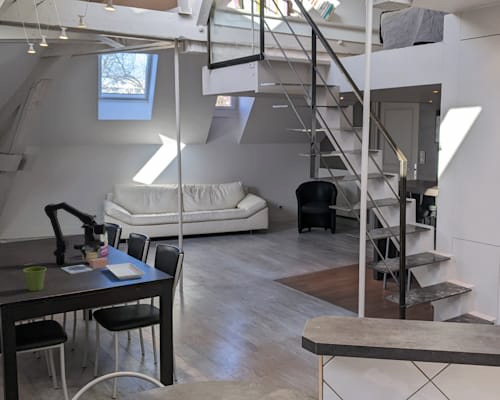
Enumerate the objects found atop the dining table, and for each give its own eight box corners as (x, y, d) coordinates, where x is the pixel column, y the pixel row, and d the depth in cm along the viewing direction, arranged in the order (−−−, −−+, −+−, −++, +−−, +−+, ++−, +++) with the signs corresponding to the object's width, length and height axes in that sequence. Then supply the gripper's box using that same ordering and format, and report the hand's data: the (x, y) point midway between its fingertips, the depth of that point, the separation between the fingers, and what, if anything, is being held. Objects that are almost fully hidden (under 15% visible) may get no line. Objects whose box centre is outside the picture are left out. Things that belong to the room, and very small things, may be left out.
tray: (131, 267, 348) (131, 262, 348) (146, 278, 321) (146, 273, 320) (104, 270, 341) (104, 265, 340) (117, 282, 313) (117, 276, 312)
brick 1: (82, 259, 360) (82, 251, 360) (91, 258, 364) (90, 250, 363) (88, 262, 352) (88, 254, 352) (97, 260, 356) (97, 253, 356)
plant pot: (44, 292, 293) (43, 271, 292) (21, 292, 292) (19, 272, 291) (50, 286, 305) (49, 266, 303) (28, 286, 304) (27, 266, 302)
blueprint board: (61, 269, 344) (61, 267, 344) (82, 265, 352) (82, 264, 352) (70, 273, 331) (70, 272, 331) (92, 270, 340) (92, 268, 340)
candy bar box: (102, 254, 386) (101, 231, 384) (108, 254, 385) (107, 231, 383) (94, 257, 375) (93, 234, 373) (101, 258, 374) (100, 234, 372)
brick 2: (93, 269, 344) (93, 261, 344) (89, 267, 349) (89, 259, 348) (108, 266, 350) (108, 259, 350) (104, 264, 355) (104, 257, 355)
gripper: (79, 238, 344) (80, 262, 346) (107, 234, 356) (108, 258, 358) (73, 235, 353) (74, 259, 355) (100, 232, 364) (101, 255, 366)
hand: (89, 258), depth 358 cm, fingers closed on brick 1, 6 cm apart
